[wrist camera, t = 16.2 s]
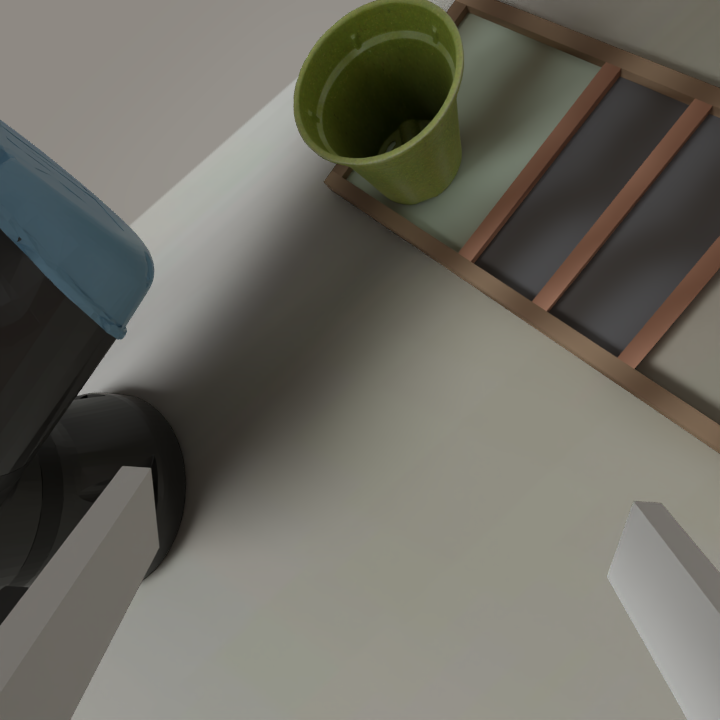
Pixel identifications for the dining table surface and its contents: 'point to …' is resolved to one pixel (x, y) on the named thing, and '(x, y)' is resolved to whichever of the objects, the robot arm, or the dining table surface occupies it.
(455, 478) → the dining table surface
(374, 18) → the plant pot
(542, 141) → the frame
